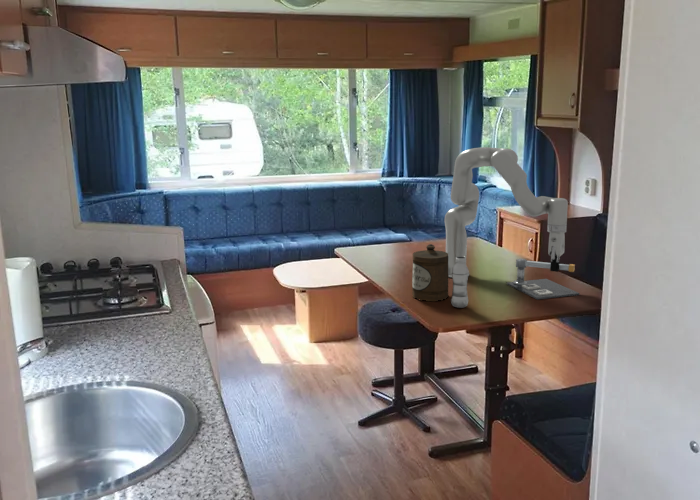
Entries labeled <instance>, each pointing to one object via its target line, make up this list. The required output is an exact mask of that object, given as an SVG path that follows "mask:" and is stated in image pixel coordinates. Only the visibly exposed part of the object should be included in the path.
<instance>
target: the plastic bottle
mask: <svg viewBox="0 0 700 500" xmlns="http://www.w3.org/2000/svg"><path fill="white" fill-rule="evenodd" d="M465 260H466V261H465ZM455 262H456V264H455V265H454V266H453V268H452V291H451V292H452V294H451V299H450V302H451V305H452V307H455V308H458V309H462V308H467V306H468V304H469V297H468V278H469V276H468V273H469V274H470V271H469V267H468V266H467V264H466V265H465V262H466V263H467V257H466V258H465V257H462V256H458V257H456V261H455Z"/></svg>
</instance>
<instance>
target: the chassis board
mask: <svg viewBox="0 0 700 500" xmlns="http://www.w3.org/2000/svg"><path fill="white" fill-rule="evenodd" d="M526 281H527V285H528V284H535V285H538V286H540V287H541V288H538V289H526V288H524V287H522V285H516V284H514V283H513V281H510V282H509V281H508V282H506V285H507V286H509V287H511V288H513V289H515V290H517V291H519V292H521V293H523V294H525V295H527V296H530V297H531V298H532V299H535V300H546V299H554V298H555V299H556V298H565V297H574V296H579V295H581V293H580V292H578V291H576V290H573V289H571V288H569V287H566V286H564V285H561V284H559V283H557V282H555V281H553V280H551V279H548V278H540V279H529V280H526ZM545 289H546V290H548V291H551V292H553V294H548V295H538V294H536V293H534V292H533V291H535V290H545Z"/></svg>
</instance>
